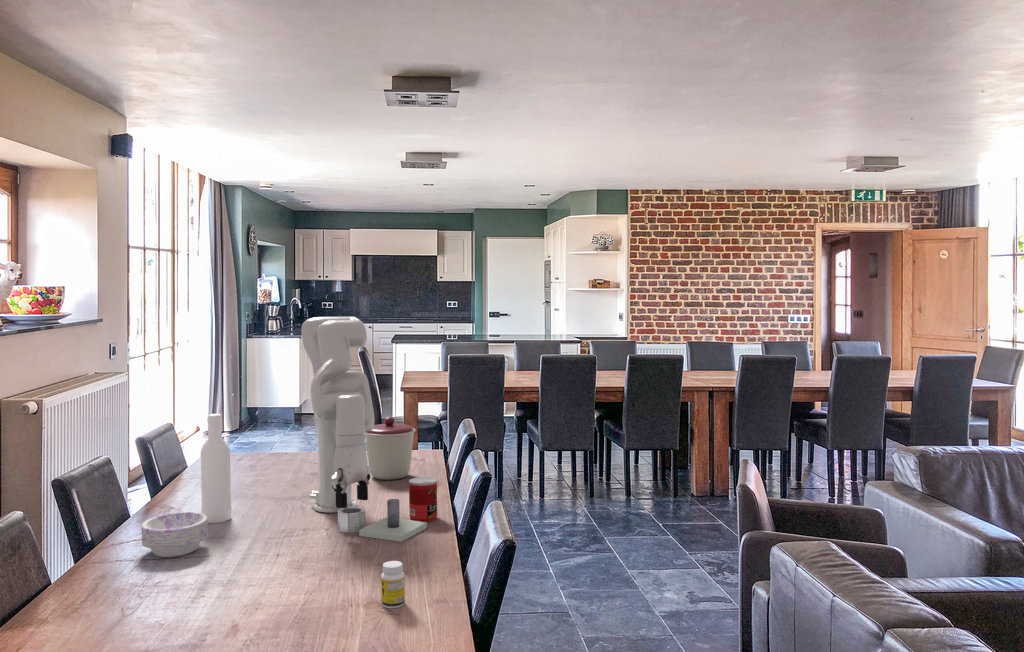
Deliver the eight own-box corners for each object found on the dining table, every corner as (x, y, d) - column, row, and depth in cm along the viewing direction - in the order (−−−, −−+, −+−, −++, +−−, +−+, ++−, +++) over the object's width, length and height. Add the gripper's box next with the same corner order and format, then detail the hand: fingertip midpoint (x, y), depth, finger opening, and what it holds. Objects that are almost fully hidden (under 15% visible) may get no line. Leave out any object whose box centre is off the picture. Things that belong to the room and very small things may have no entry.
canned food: (432, 523, 214) (432, 483, 214) (405, 521, 216) (405, 482, 215) (440, 515, 222) (440, 477, 221) (414, 513, 223) (413, 476, 223)
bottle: (236, 519, 219) (234, 414, 218) (209, 525, 213) (207, 417, 212) (223, 513, 224) (221, 411, 223) (196, 519, 219) (194, 414, 218)
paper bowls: (143, 565, 181) (142, 532, 181) (141, 547, 195) (140, 516, 194) (212, 555, 188) (211, 523, 188) (205, 538, 202) (204, 508, 202)
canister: (426, 474, 272) (425, 415, 272) (392, 485, 257) (391, 422, 256) (387, 468, 282) (387, 411, 281) (352, 478, 267) (352, 418, 266)
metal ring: (333, 530, 207) (333, 512, 207) (348, 523, 214) (348, 506, 214) (355, 533, 205) (354, 515, 204) (369, 526, 211) (369, 508, 211)
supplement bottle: (382, 600, 160) (382, 560, 159) (405, 599, 160) (405, 559, 160) (380, 609, 155) (380, 568, 155) (404, 608, 155) (403, 567, 155)
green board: (359, 535, 203) (359, 530, 203) (386, 522, 215) (386, 517, 215) (401, 541, 198) (401, 536, 198) (426, 527, 210) (426, 522, 210)
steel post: (385, 527, 205) (384, 501, 205) (391, 523, 208) (391, 498, 208) (395, 528, 204) (395, 502, 204) (401, 525, 207) (401, 499, 207)
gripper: (357, 435, 217) (359, 496, 217) (319, 444, 202) (321, 510, 202) (380, 436, 214) (381, 497, 214) (343, 445, 199) (344, 512, 199)
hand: (352, 503), depth 208 cm, fingers open, 9 cm apart
